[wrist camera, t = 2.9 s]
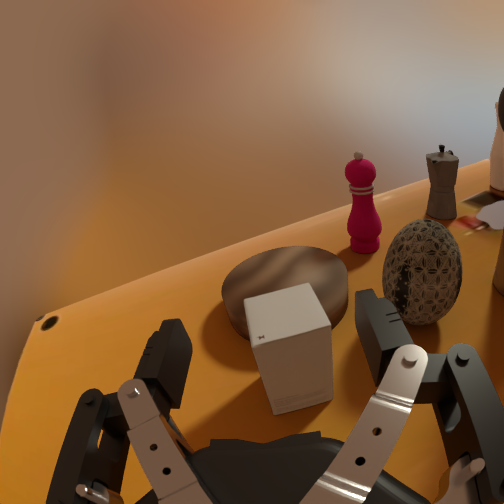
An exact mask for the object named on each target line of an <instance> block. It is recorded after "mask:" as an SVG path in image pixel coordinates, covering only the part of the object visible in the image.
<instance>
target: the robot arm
mask: <svg viewBox="0 0 504 504" xmlns="http://www.w3.org/2000/svg"><path fill="white" fill-rule="evenodd" d="M498 116H499V121H500V125H501V127H502V130H503V132H504V88H503V90H502V92H501V94H500V97H499V102H498ZM493 283H494V286H495V287H496V289H497V290H498V291H499V292H500V293H501V294H502V295H504V229H503V235H502V240H501V245H500V250H499V255H498V260H497V264H496V267H495V272H494V276H493ZM355 324H356V329H357V332H358V335H359V338H360V340H361V343H362V346H363V349H364V352H365V355H366V358H367V361H368V364H369V367H370V370H371V373H372V377H373V380H374V383H375V386H376V387H377V386H379V387H378V389H377V391H376V393H375V394H373V395H372V396H371V398H370V400H369V402H368V404H367V405H366V407H365V409H364V411H363V413H362V415H361V416H360V418H359V420H358V422H357V423H356V425H355V427H354V428H353V430H352V432H351V433H350V435H349V437H348V438H347V440H346V442H342V441H340V440H336V439H332V438H325V437H321V433H320V431H316V432H310V433H303V434H295V435H290V436H288V437H285V438H281V439H278V440H275V441H272V442H269V443H264V444H262V443H255V442H249V441H244V440H239V439H211V441H210V446H208V447H205V448H202V449H200V450H198V451H196V452H194V450H193V449H192V448H191V447H190V446H189V444H188V443H187V441H186V440H185V438H184V437H183V435H182V433H181V432H180V430H179V429H178V427H177V425H176V424H175V422H174V420H173V419H172V417H171V416H170V414H169V413H170V409H180V404H181V400H182V395H183V391H184V387H185V382H186V378H187V374H188V369H189V365H190V361H191V357H192V343H191V340H190V338H189V336H188V334H187V332H186V330H185V328H184V326H183V324H182V322H181V320H180V319H168V320H163V322H162V324H161V326H160V329H159V331H155V332H154V333H153V335H152V336H151V337H150V338H149V339H148V342H147V344H146V347H145V348H146V349H144V352H143V356H142V357H141V359H140V362H139V364H138V367H137V370H136V372H135V375H134V378H133V379H131V380H128V381H126V382H125V383H123V384H122V385H121V387H120V388H119V390H118V392H115V393H111V394H107V395H103V394H102V392H101V391H100V390H98V389H89V390H87V391H86V392H84V393H83V394H82V395H81V397H80V399H79V401H78V403H77V406H76V409H75V411H74V414H73V417H72V419H71V422H70V425H69V427H68V430H67V433H66V436H65V439H64V442H63V445H62V448H61V451H60V454H59V457H58V460H57V464H56V467H55V470H54V474H53V477H52V481H51V484H50V488H49V492H48V496H47V500H46V504H124V501H123V499H122V497H121V496H120V491H121V486H122V480H123V475H124V470H125V465H126V460H127V455H128V451H129V446H130V442H131V444H132V446H133V449H134V451H135V453H136V455H137V458H138V460H139V462H140V464H141V466H142V468H143V470H144V472H145V474H146V476H147V478H148V480H149V482H150V484H151V486H152V488H153V489H152V490H150V491H149V492H148V493H147V494H146V495H145V496H143V497H142V498H141V499H140V500H139V501H137V502H136V503H135V504H431V503H430V502H429V501H428V500H427V499H426V498H424V497H423V496H421V495H420V494H418V493H417V492H415V491H414V490H412V489H410V488H409V487H407V486H406V485H404V484H403V483H402V482H400V481H399V480H397V479H396V478H394V477H393V476H391V475H390V474H389V473H387V472H386V471H384V470H383V467H384V466H385V464H386V462H387V460H388V458H389V456H390V454H391V452H392V450H393V448H394V446H395V444H396V442H397V440H398V438H399V436H400V434H401V431H402V429H403V427H404V425H405V422H406V420H407V418H408V415H409V413H410V411H411V408H412V405H413V404H428V403H432V406H433V409H434V412H435V415H436V419H437V422H438V425H439V429H440V432H441V436H442V440H443V443H444V447H445V451H446V455H447V459H448V464H449V468H448V469H447V470H446V471H445V472H444V473H443V475H442V476H441V478H440V481H439V493H438V496H437V498H436V499H435V501H434V502H433V503H432V504H503V503H504V408H503V406H502V403H501V401H500V399H499V396H498V394H497V392H496V390H495V387H494V385H493V383H492V381H491V379H490V377H489V375H488V373H487V371H486V369H485V367H484V365H483V363H482V361H481V359H480V357H479V355H478V353H477V351H476V350H475V349H474V348H473V347H472V346H470V345H468V344H464V343H460V344H456V345H454V346H452V347H451V348H450V349H449V351H448V353H445V354H430V353H426V352H425V350H424V349H422V348H421V347H419V346H417V345H415V344H414V342H413V340H412V338H411V337H410V335H409V333H408V331H407V329H406V327H405V325H404V323H403V321H402V320H401V317H400V316H399V314H398V313H397V310H396V308H395V306H394V305H393V303H392V302H390V301H389V300H388V299H386V298H385V297H383V298H379V299H378V298H377V296H376V295H375V293H374V291H373V289H372V288H371V289H366V290H361V291H356V292H355ZM101 429H102V430H103V434H102V438H101V441H100V445H99V448H98V447H97V442H98V439H99V435H100V432H101Z"/></svg>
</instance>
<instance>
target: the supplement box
mask: <svg viewBox="0 0 504 504" xmlns="http://www.w3.org/2000/svg"><path fill="white" fill-rule="evenodd" d="M244 307H245V312H246V318H247V325H248V329H249V335H250V341H251V348H252V351H253V354H254V357H255V360H256V363H257V366H258V369H259V372H260V375H261V378H262V381H263V384H264V387H265V390H266V393H267V396H268V399H269V402H270V405H271V408H272V411H273V415H278V414H282V413H286V412H290V411H294V410H298V409H302V408H306V407H309V406H313V405H316V404H320V403H323V402H326V401H329V400H332V399H333V359H332V333H331V323H330V321H329V319H328V317H327V315H326V313H325V311H324V309H323V308H322V306H321V304H320V302H319V300H318V298H317V296H316V294H315V293H314V291H313V289H312V287H311V286H310V284H309V283H305V284H301V285H297V286H293V287H290V288H286V289H282V290H278V291H274V292H271V293H267V294H263V295H259V296H256V297H251V298H247V299H244Z"/></svg>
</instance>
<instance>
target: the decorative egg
mask: <svg viewBox="0 0 504 504" xmlns="http://www.w3.org/2000/svg"><path fill="white" fill-rule="evenodd" d="M461 282H462V260H461V254H460V251H459V247H458V245H457V243H456V241H455V239H454V237H453V235H452V234H451V233H450V232H449V231H448V230H447V228H446V227H445V226H443V225H442V224H440V223H439V222H437V221H434V220H431V219H419V220H416V221H413V222H411V223H409V224H408V225H406V226H405V227H404V228H403V229H402V230H401V231H400V232H399V233H398V234H397V235H396V236H395V238H394V239H393V241H392V243H391V245H390V247H389V249H388V252H387V255H386V258H385V262H384V267H383V277H382V283H383V292H384V296H385V298H386V299H388V300H389V301H390V302H392V303H393V305H394V306H395V308H396V310H397V313H398V314H399V316H400V317H401V320H403V321H404V322H406V323H409V324H412V325H428V324H431V323H434V322H436V321H438V320H439V319H441V318H442V317H443V316H445V315H446V314H447V313H448V312H449V310H450V309H451V308H452V306H453V305H454V303H455V301H456V299H457V297H458V294H459V291H460V287H461Z"/></svg>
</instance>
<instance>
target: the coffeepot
mask: <svg viewBox="0 0 504 504" xmlns="http://www.w3.org/2000/svg"><path fill="white" fill-rule="evenodd" d="M444 148H445V146H444V145H439V149H440V152H437V153H431V154H427V155H426V160H427V166H428V172H429V179H430V183H431V188H430V194H429V200H428V205H427V214H428V215H429V216H431V217H433V218H436V219H440V220H450V219H453V218H455V217H456V216H457V213H456V201H455V191H454V185H455V184H456V177H457V170H458V162H459V159H458V157H456V156H454V155H453V152H452V151H450V150H449V151H448V152H447V151H446V152H444Z"/></svg>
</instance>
